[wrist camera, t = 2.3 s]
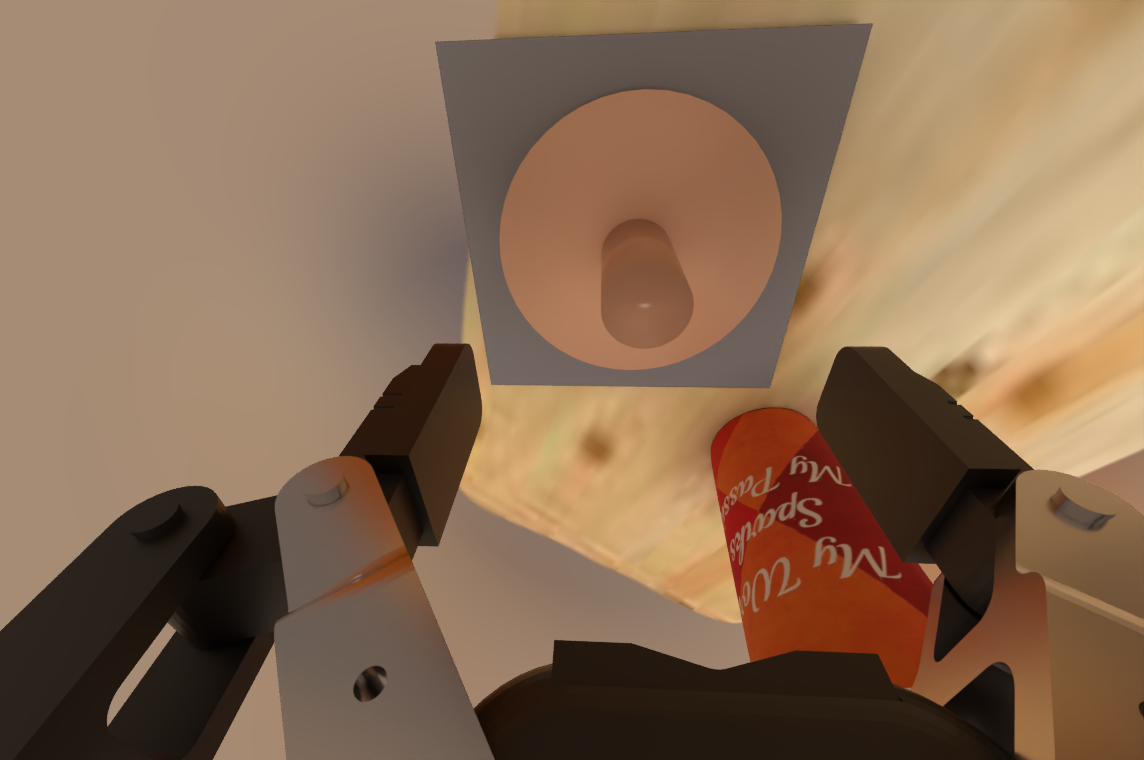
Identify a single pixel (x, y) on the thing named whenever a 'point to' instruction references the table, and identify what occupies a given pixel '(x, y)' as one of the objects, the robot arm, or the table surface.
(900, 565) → the coffee cup
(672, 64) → the mat
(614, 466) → the table surface
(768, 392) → the table surface
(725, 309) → the lid
